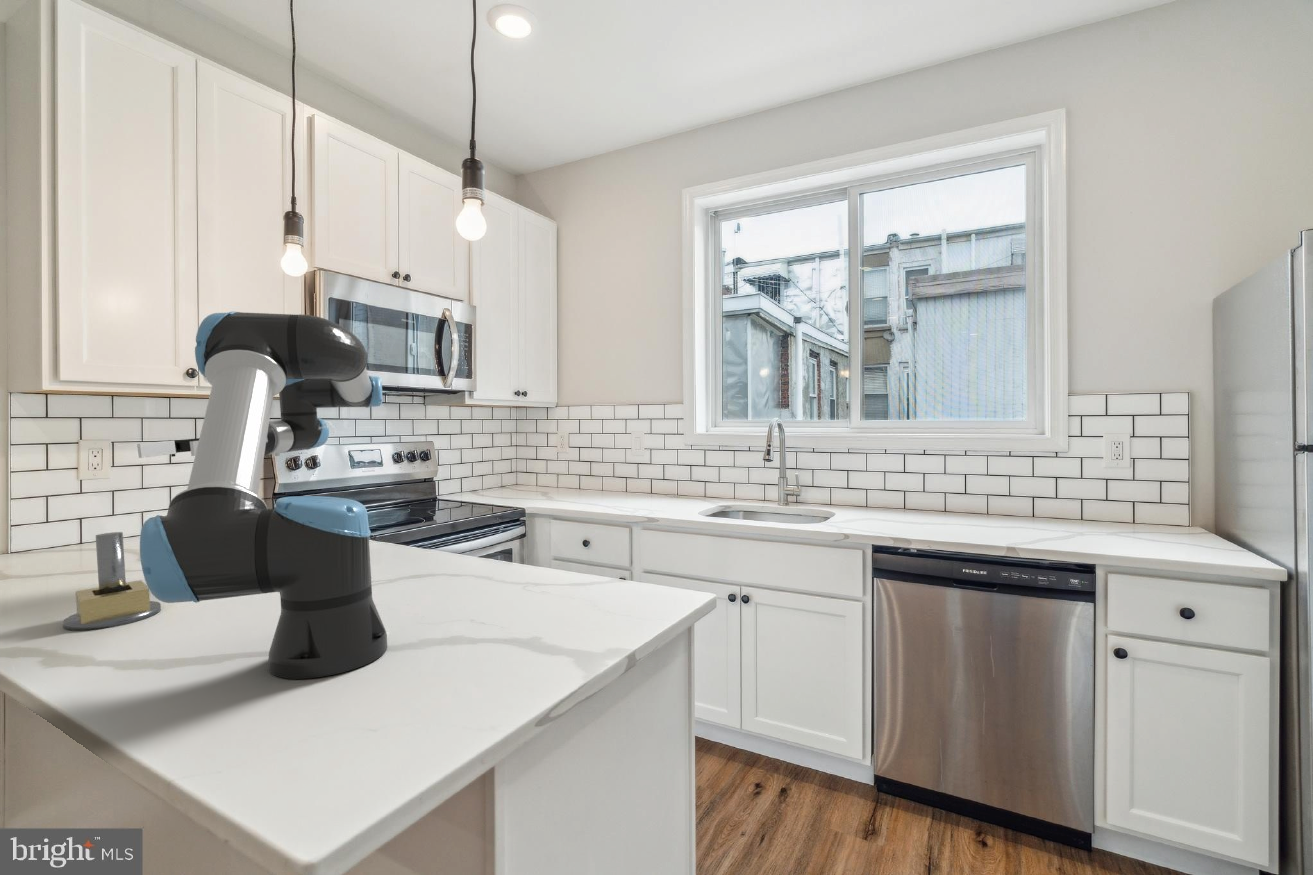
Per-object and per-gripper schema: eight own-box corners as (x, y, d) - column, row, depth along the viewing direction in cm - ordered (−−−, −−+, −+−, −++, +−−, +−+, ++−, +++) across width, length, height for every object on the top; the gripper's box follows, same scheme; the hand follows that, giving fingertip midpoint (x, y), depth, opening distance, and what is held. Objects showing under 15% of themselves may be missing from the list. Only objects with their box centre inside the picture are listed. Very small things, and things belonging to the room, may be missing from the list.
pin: (128, 611, 110) (124, 533, 109) (101, 616, 107) (96, 536, 106) (126, 607, 112) (121, 531, 111) (99, 612, 109) (94, 534, 109)
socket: (166, 615, 110) (165, 588, 110) (66, 636, 100) (64, 606, 100) (154, 601, 119) (152, 576, 118) (61, 619, 109) (59, 591, 109)
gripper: (310, 453, 134) (217, 467, 114) (223, 456, 141) (121, 470, 121) (306, 419, 133) (212, 427, 113) (219, 424, 140) (115, 432, 120)
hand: (165, 449), depth 117 cm, fingers open, 13 cm apart
